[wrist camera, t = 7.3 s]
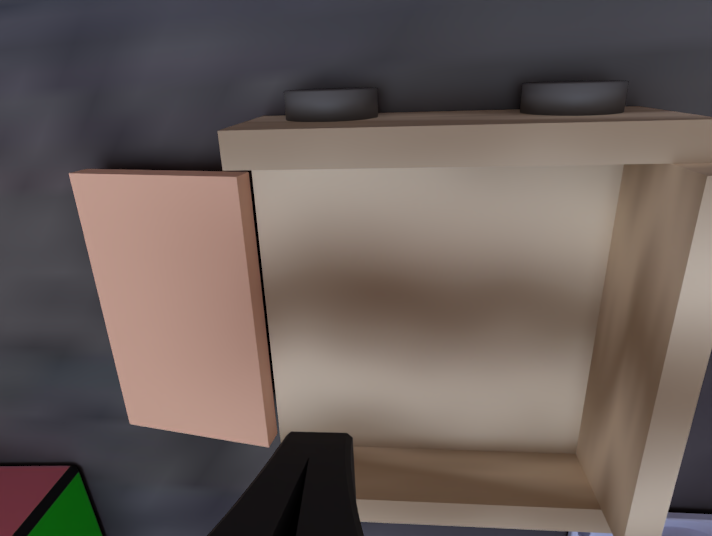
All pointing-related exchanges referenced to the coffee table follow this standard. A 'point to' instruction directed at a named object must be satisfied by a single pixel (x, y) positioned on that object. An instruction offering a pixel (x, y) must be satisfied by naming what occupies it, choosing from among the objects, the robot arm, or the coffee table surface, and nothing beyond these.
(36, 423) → the coffee table surface
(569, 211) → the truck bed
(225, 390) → the panel
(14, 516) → the puzzle cube
